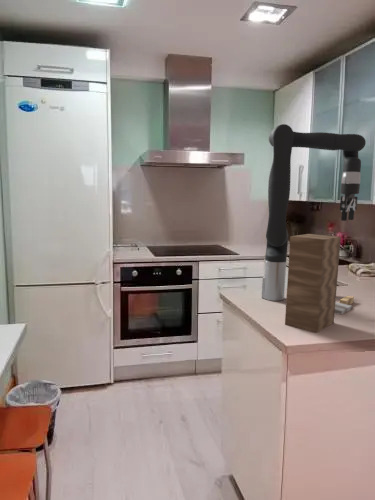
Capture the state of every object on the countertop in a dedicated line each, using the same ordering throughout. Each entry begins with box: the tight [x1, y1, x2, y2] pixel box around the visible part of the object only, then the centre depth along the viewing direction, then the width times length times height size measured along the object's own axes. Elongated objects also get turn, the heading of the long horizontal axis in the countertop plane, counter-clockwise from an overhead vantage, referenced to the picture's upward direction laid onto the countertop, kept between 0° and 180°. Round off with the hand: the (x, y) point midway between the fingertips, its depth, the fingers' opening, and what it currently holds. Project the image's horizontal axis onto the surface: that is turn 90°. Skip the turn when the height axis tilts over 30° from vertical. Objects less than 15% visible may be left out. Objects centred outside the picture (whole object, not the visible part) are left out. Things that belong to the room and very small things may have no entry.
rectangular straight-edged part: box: [335, 295, 355, 315], centre depth 168 cm, size 22×8×3 cm, turn 139°
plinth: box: [284, 233, 342, 333], centre depth 142 cm, size 15×12×32 cm
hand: (347, 220), depth 174 cm, fingers open, 8 cm apart
